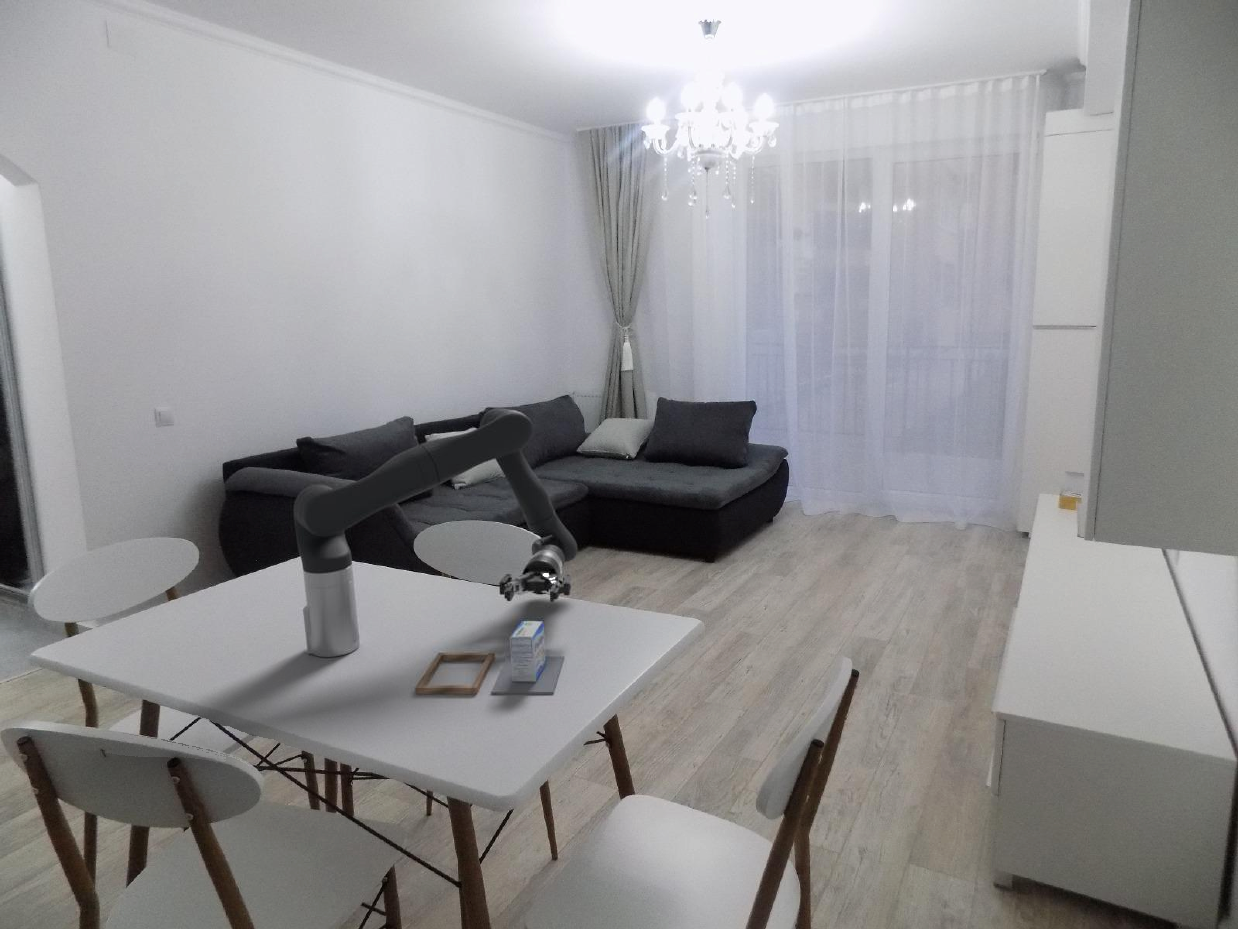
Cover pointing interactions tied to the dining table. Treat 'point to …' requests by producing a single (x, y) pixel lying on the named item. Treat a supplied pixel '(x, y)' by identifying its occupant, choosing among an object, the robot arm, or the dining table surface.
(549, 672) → the charcoal mat
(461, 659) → the walnut tray
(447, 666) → the dining table surface
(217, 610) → the dining table surface
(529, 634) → the medicine box
